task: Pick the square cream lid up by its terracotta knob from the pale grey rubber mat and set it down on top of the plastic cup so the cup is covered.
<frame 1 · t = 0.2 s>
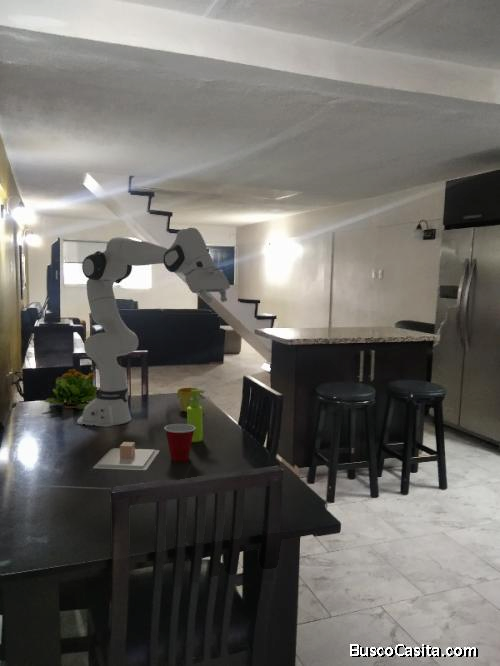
hand: (217, 302, 181), 54 cm above the table, tool tilted 30°, fingers open, 8 cm apart
mat: (127, 460, 173), on the table
plant pot: (188, 410, 235), on the table
lid: (127, 458, 173), resting on mat
plastic cup: (180, 460, 174), on the table
potted flower: (71, 406, 240), on the table
soap dispenser: (196, 441, 194), on the table
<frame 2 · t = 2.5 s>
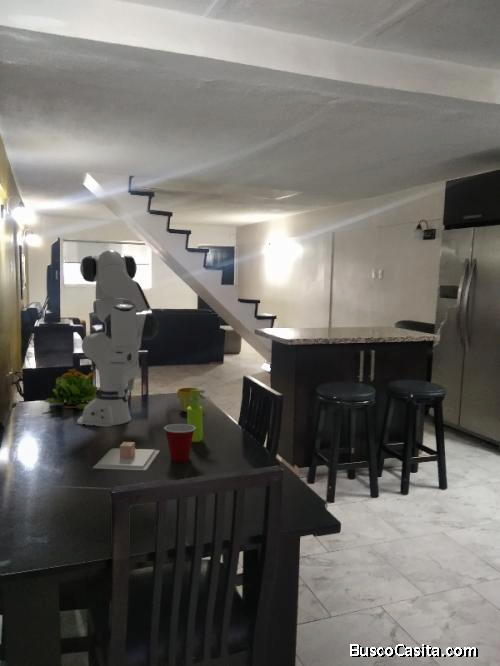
hand: (126, 393, 170), 24 cm above the table, tool pointing down, fingers open, 8 cm apart
nothing on the table moved.
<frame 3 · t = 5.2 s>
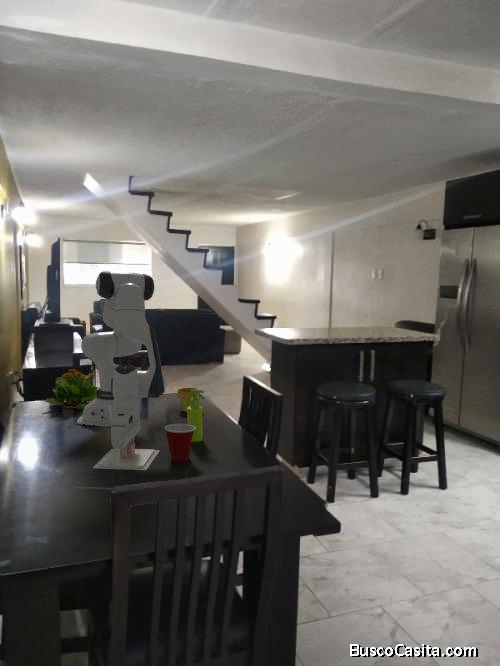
hand: (127, 452, 173), 3 cm above the table, tool pointing down, fingers closed on lid, 4 cm apart
lid: (127, 458, 173), resting on mat, touching gripper
everything else where it was.
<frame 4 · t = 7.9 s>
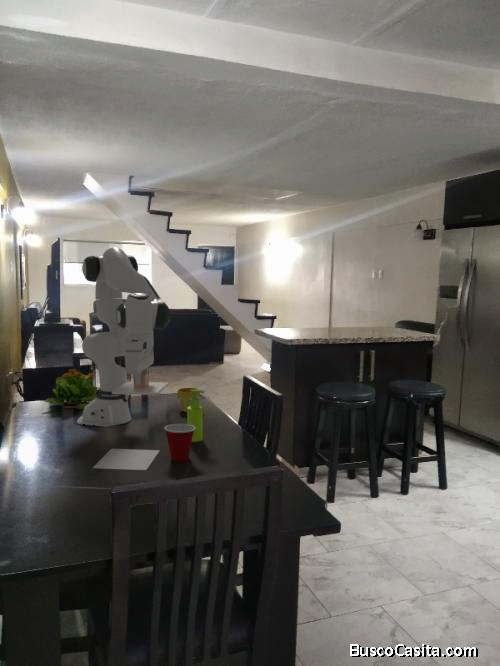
hand: (141, 382, 170), 28 cm above the table, tool pointing down, fingers closed on lid, 4 cm apart
lid: (141, 389, 170), point 25 cm above the table, touching gripper
everything else where it was.
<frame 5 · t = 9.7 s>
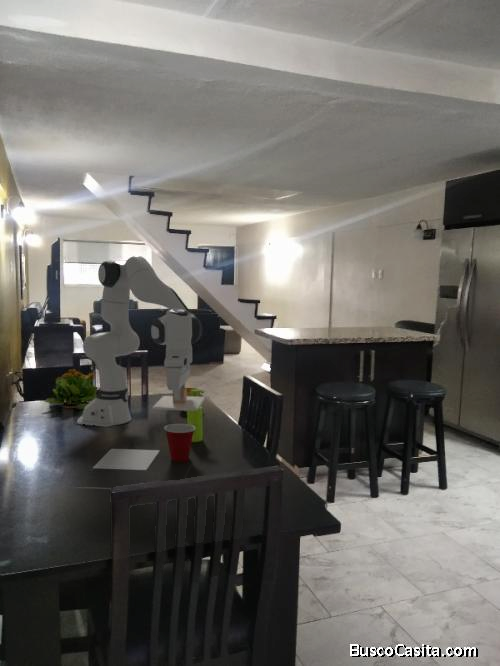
hand: (179, 397, 171), 22 cm above the table, tool pointing down, fingers closed on lid, 4 cm apart
lid: (179, 404, 172), point 20 cm above the table, touching gripper
everything else where it was.
when the fingers open (16 cm above the table, at t = 11.1 s): lid drops 1 cm, resting on plastic cup.
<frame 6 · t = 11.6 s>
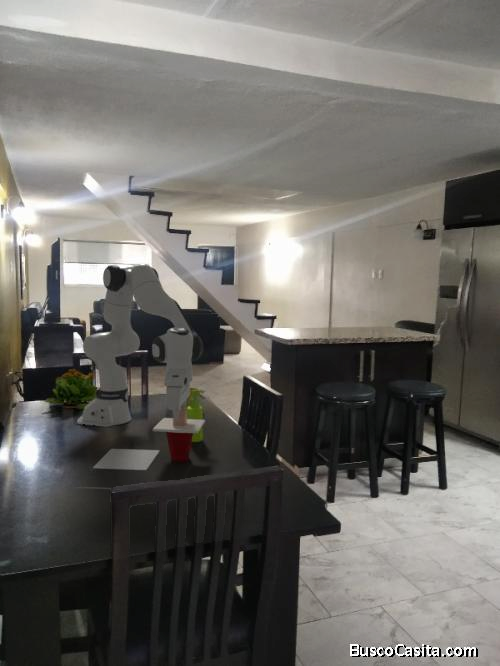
hand: (179, 415, 172), 16 cm above the table, tool pointing down, fingers open, 8 cm apart
lid: (179, 426, 173), point 12 cm above the table, touching plastic cup
plastic cup: (180, 460, 174), on the table, touching lid
everything else where it was.
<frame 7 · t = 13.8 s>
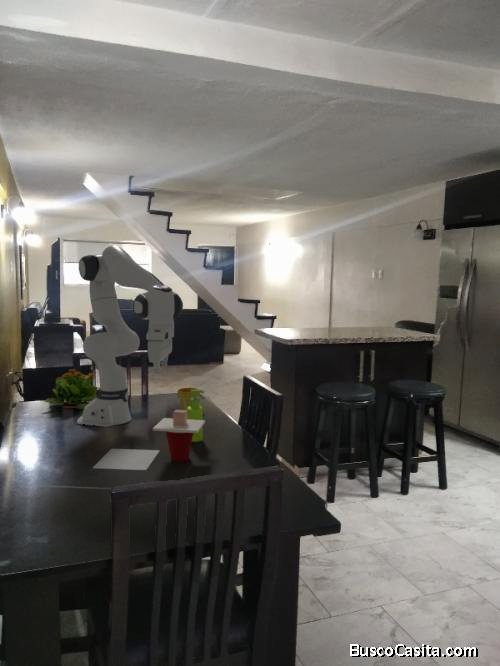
hand: (160, 369, 180), 30 cm above the table, tool pointing down, fingers open, 8 cm apart
nothing on the table moved.
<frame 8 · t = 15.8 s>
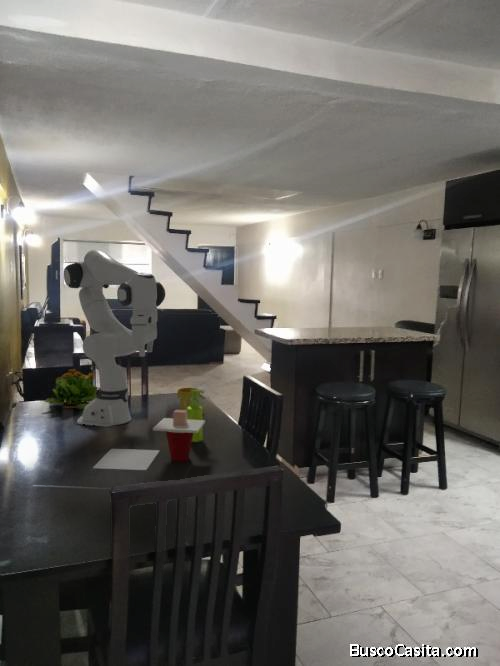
hand: (146, 354, 187), 34 cm above the table, tool pointing down, fingers open, 8 cm apart
nothing on the table moved.
at the end: lid 0.1 cm off-centre on the plastic cup, point 12.2 cm above the plastic cup's base; lid tilted 4°; plastic cup tilted 0° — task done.
